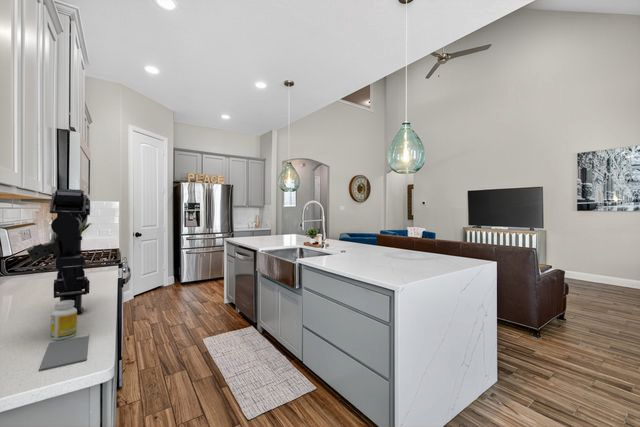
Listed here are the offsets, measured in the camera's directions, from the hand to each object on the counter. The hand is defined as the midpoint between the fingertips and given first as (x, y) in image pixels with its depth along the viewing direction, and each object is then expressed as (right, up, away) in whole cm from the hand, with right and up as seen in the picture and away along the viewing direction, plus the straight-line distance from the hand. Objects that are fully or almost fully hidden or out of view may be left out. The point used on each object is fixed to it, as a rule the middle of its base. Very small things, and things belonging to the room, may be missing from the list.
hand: (67, 285), depth 84 cm
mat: (+12, -13, -14) cm, 22 cm away
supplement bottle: (+4, -13, -5) cm, 14 cm away
